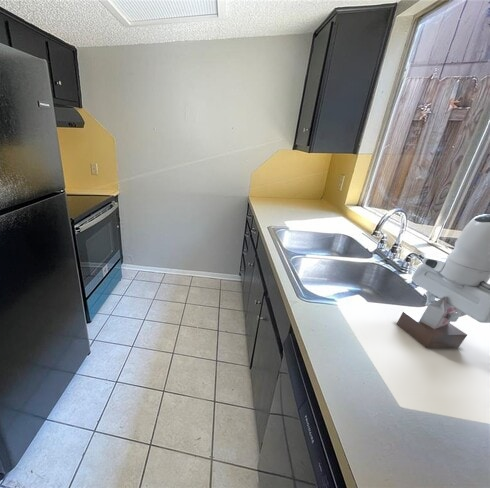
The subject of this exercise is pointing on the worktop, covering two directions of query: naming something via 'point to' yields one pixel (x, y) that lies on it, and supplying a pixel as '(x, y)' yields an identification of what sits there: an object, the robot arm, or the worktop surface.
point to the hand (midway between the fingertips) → (439, 313)
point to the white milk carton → (437, 313)
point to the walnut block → (431, 332)
